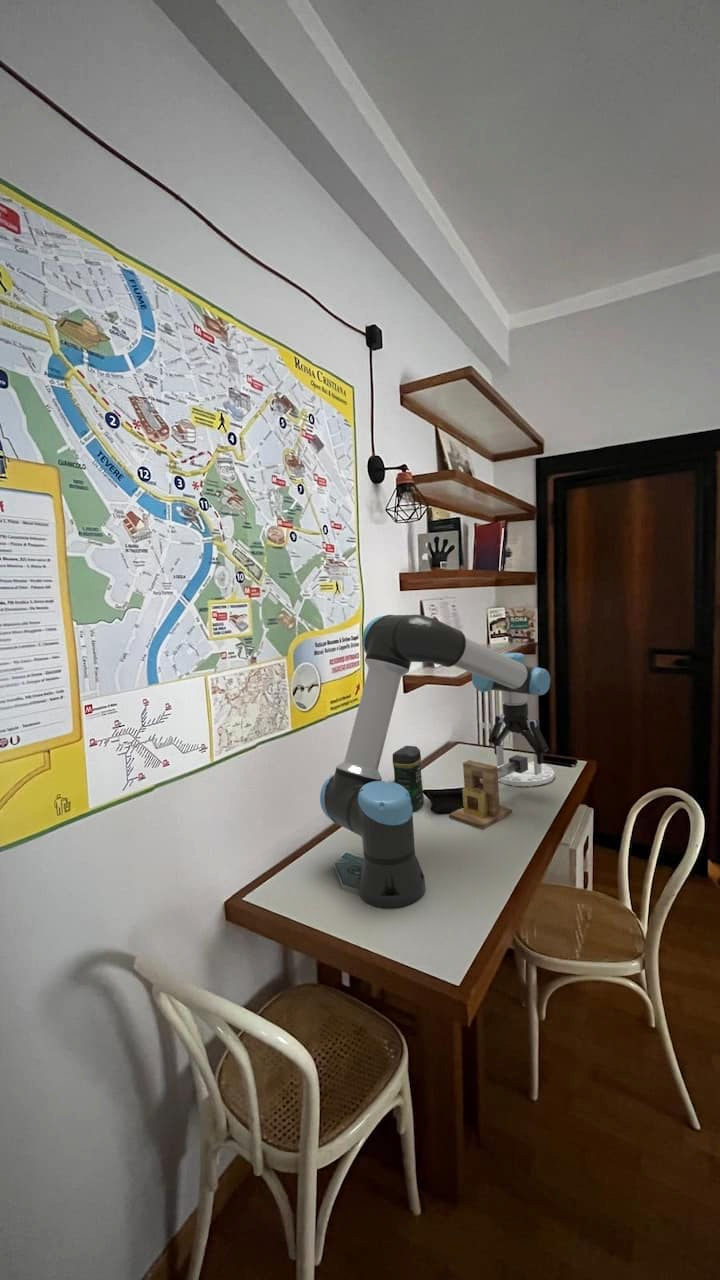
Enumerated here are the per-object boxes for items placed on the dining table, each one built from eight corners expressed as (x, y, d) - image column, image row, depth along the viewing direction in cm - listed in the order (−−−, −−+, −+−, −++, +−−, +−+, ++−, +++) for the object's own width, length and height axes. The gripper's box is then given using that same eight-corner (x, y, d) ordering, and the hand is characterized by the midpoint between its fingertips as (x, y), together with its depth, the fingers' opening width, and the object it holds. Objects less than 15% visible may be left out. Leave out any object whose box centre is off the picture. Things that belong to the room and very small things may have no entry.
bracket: (482, 829, 148) (479, 776, 147) (449, 817, 157) (445, 768, 156) (512, 813, 157) (509, 763, 156) (479, 803, 166) (476, 755, 165)
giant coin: (516, 765, 199) (515, 757, 199) (565, 775, 184) (565, 767, 183) (482, 780, 186) (481, 772, 186) (532, 793, 171) (532, 784, 171)
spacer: (483, 818, 152) (481, 794, 151) (463, 812, 157) (462, 789, 157) (488, 815, 154) (487, 792, 153) (469, 809, 159) (467, 786, 158)
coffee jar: (416, 813, 162) (411, 753, 160) (392, 810, 166) (387, 752, 164) (427, 801, 170) (423, 744, 169) (404, 799, 174) (400, 743, 173)
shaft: (486, 789, 155) (485, 776, 155) (475, 786, 158) (474, 773, 158) (528, 769, 169) (527, 757, 168) (517, 767, 172) (516, 755, 171)
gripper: (558, 704, 160) (562, 774, 162) (489, 696, 179) (493, 758, 181) (544, 709, 155) (548, 781, 157) (475, 701, 174) (479, 764, 176)
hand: (518, 769), depth 169 cm, fingers open, 13 cm apart
